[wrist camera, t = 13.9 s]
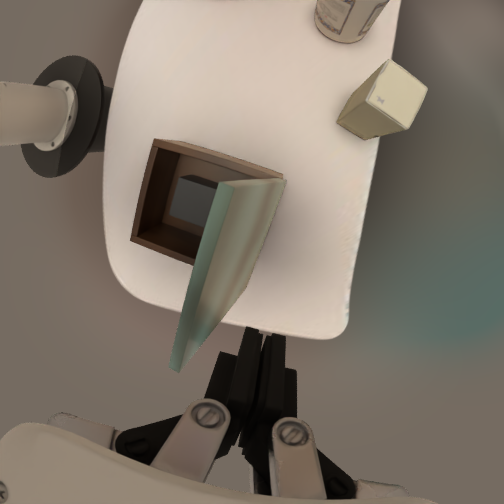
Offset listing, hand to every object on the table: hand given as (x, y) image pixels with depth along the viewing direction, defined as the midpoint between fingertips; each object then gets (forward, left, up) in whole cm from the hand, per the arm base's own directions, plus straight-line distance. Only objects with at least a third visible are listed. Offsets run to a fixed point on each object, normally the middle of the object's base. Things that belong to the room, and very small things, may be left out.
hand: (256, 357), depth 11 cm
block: (-10, 0, -25) cm, 26 cm away
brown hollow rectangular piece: (-8, 0, -25) cm, 26 cm away
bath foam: (-1, +29, -25) cm, 38 cm away
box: (+5, +17, -25) cm, 31 cm away
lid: (-3, 0, -10) cm, 10 cm away
